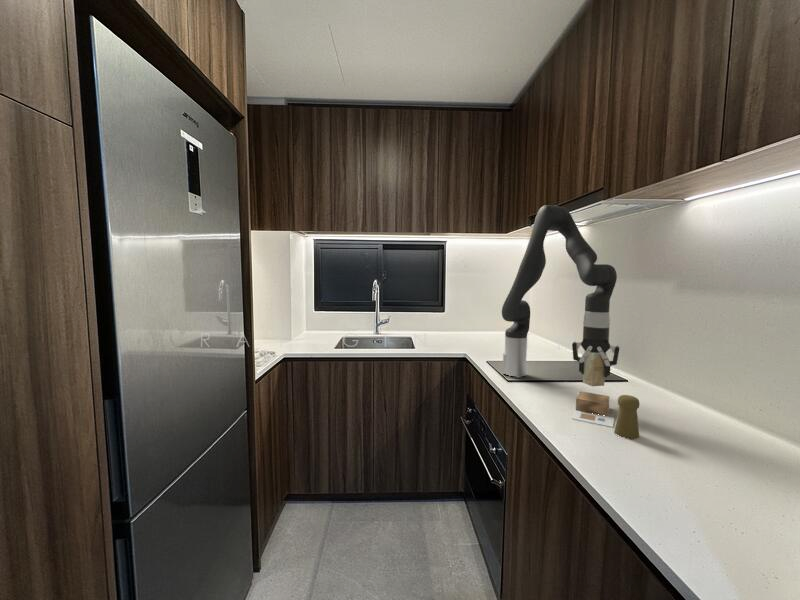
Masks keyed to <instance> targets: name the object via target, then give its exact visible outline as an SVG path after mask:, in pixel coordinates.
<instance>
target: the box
mask: <svg viewBox="0 0 800 600" xmlns="http://www.w3.org/2000/svg"><path fill="white" fill-rule="evenodd" d="M606 354H607V352H606V353H605V355H606ZM605 365H606V364H605V362H604V360H603V359H602V357H601V355H600V353H597V352H589V354H588V355H587V357H586V358H585V360H584V373H583V374H582V375H583V376H582V383H583V384H585V385H588V386H590V387H603V386H605V380H606V379H605V378H606V377H605Z"/></svg>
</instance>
